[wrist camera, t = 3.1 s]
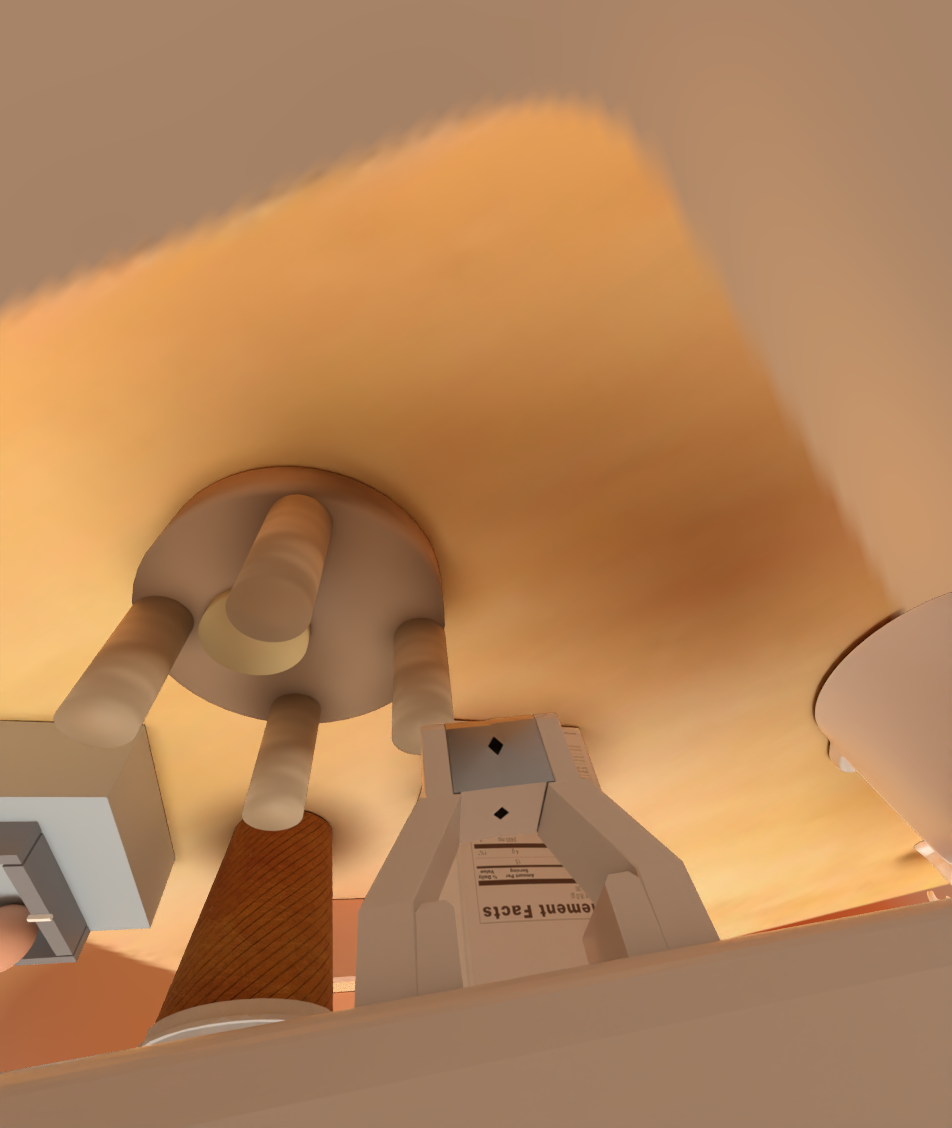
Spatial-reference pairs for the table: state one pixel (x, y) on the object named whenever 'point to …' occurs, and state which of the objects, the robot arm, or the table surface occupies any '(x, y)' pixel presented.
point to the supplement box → (518, 901)
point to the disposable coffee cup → (258, 937)
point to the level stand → (79, 836)
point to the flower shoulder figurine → (935, 865)
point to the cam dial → (278, 625)
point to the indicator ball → (15, 934)
